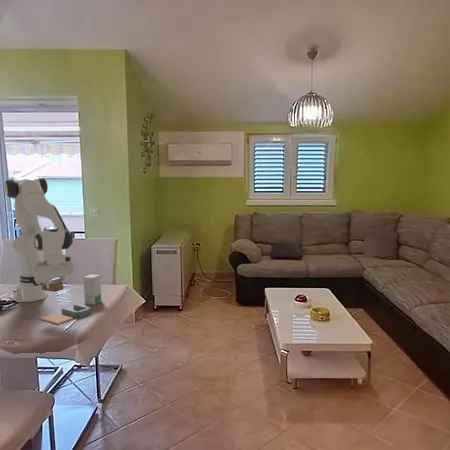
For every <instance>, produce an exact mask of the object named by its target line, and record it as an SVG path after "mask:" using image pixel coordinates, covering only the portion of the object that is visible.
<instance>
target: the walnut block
mask: <svg viewBox="0 0 450 450" xmlns="http://www.w3.org/2000/svg"><path fill="white" fill-rule="evenodd" d="M48 283H49V284H51V287H52V288H49V289H48V288H47V285H46V284H45V282H44V281H43V282H41V287H42V290H46V292H47V291H48V292H53V293H56V292H57V293H58V292H60V291H63V290H64V281H63V282H62V279H61V278H59V277H58V278H55V279H50V280H49V282H48Z"/></svg>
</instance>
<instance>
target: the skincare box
mask: <svg viewBox="0 0 450 450" xmlns="http://www.w3.org/2000/svg"><path fill="white" fill-rule="evenodd" d="M101 285H102V284H101V274H88V275H86V276H84V277H83V292H84V305H90V306H91V305H96V304H99V303H100V302H102V289H101V288H102V286H101Z"/></svg>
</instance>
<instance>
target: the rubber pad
mask: <svg viewBox="0 0 450 450" xmlns="http://www.w3.org/2000/svg"><path fill="white" fill-rule="evenodd" d="M39 320H40V321H43V320H44V322H46V323H50V324H54V325H57V326H58V325H61V324H64V323H67V322H69V321H73V320H74V317H71V316H67V315H63V314H62V313H57V312H54V313H51V314H48V315H45V316H42V317H39Z"/></svg>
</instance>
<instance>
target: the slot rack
mask: <svg viewBox="0 0 450 450" xmlns="http://www.w3.org/2000/svg"><path fill="white" fill-rule="evenodd" d="M91 314H93V312H92V307H91V306H86V305H82V304H78V303H74V304H73V309H71V308H67V307H61V315H65V316H69V317H72V318H73V319H79V318H83V317H86V316H88V315H91Z"/></svg>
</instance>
